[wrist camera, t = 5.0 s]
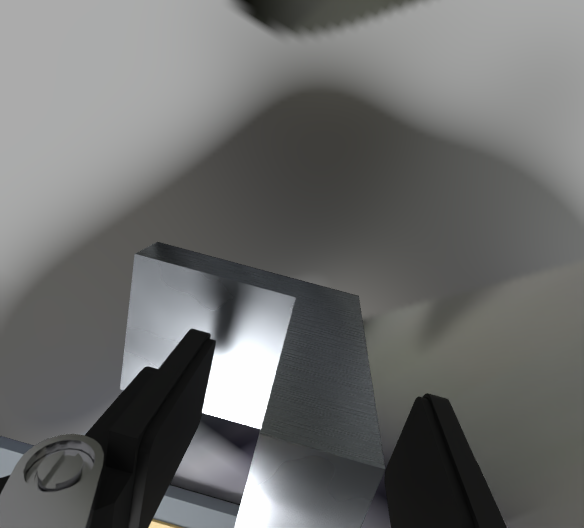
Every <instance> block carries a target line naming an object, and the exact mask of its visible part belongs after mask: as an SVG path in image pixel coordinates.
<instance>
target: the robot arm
mask: <svg viewBox="0 0 584 528" xmlns="http://www.w3.org/2000/svg"><path fill="white" fill-rule="evenodd" d="M210 338H211V334H210V333H207V332H203V331H200V330H196V329H192V328H191V329H190V330H189V331H188V332H187V334H186V335H185V336H184V337H183V339H182V340H181V341H180V342H179V344H178V345H177V346H176V347H175V349H174V350H173V351H172V352H171V354H170V355H169V356H168V357H167V359H166V360H165V361H164V362H163V364H162V365H161V366H160V367H159V369H156V368H153V367H149V366H146V367H144V368H143V369H142V370H141V371H140V372H139V373H138V375H137V376H136V377H135V378H134V379H133V380H132V381H131V383H130V384H129V385H128V386H127V387H126V388H125V390H124V391H123V392H122V393H121V394H120V395H119V396H118V398H117V399H116V400H115V401H114V402H113V403H112V404H111V406H110V407H109V408H108V409H107V410H106V411H105V413H104V414H103V415H102V416H101V417H100V418H99V419H98V421H97V422H96V423H95V424H94V425H93V426H92V427H91V429H90V430H89V431H88V432H87V433H86V434H85V435H79V434H66V435H58V436H55V437H52V438H48V439H46V440H44V441H42V442H40V443H38V444H36V445H34V446H33V447H32V448H31V449H29V450H28V451H27V452H26V453H24V454H23V456H22V457H21V458H20V460H19V461H18V462H17V464H16V465H15V467H14V469H13V471H12V473H11V475H8V476H5V477H2V478H0V528H149V526H150V524H151V522H152V519H153V517H154V515H155V513H156V511H157V509H158V507H159V505H160V503H161V501H162V499H163V497H164V495H165V493H166V491H167V489H168V487H169V485H170V483H171V481H172V479H173V477H174V475H175V473H176V471H177V469H178V467H179V465H180V463H181V461H182V458H183V456H184V454H185V452H186V450H187V448H188V446H189V444H190V442H191V440H192V438H193V436H194V434H195V432H196V430H197V428H198V425H199V423H200V419H201V416H202V411H203V406H204V401H205V396H206V391H207V386H208V381H209V376H210V371H211V366H212V361H213V356H214V351H215V346H216V340H213V339H210ZM385 488H386V495H387V502H388V509H389V516H390V523H391V528H507V527H506V525H505V523H504V521H503V518H502V516H501V514H500V512H499V510H498V507H497V505H496V503H495V501H494V498H493V496H492V494H491V492H490V489H489V487H488V485H487V483H486V480H485V478H484V476H483V474H482V472H481V469H480V467H479V465H478V463H477V462H476V460H475V458H474V456H473V453H472V451H471V449H470V447H469V444H468V442H467V440H466V438H465V435H464V433H463V431H462V429H461V426H460V424H459V422H458V420H457V417H456V415H455V413H454V411H453V408H452V406H451V404H450V402H449V400H448V399H446V398H442V397H439V396H435V395H431V394H428V393H427V394H425V395H424V396H423V398H422V397H417V398H416V400H415V402H414V404H413V407H412V409H411V411H410V414H409V416H408V418H407V421H406V423H405V426H404V428H403V430H402V433H401V435H400V437H399V440H398V442H397V444H396V447H395V449H394V451H393V454H392V456H391V458H390V461H389V463H388V465H387V468H386V472H385Z"/></svg>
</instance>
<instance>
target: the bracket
mask: <svg viewBox="0 0 584 528" xmlns="http://www.w3.org/2000/svg"><path fill="white" fill-rule="evenodd" d="M191 328H192V329H196V330H200V331H203V332H207V333H210V334H211V338H210V339H213V340H216V346H215V351H214V356H213V361H212V366H211V371H210V376H209V381H208V386H207V391H206V396H205V401H204V406H203V411H202V413H206V414H209V415H213V416H216V417H220V418H223V419H227V420H230V421H234V422H237V423H241V424H244V425H248V426H252V427H255V428H259V429H260V433H259V437H258V441H257V444H256V448H255V452H254V456H253V459H252V463H251V467H250V471H249V474H248V478H247V482H246V486H245V489H244V493H243V497H242V500H241V504H240V508H239V512H238V515H237V519H236V523H235V527H234V528H361V525H362V523H363V521H364V518H365V516H366V513H367V511H368V509H369V506H370V504H371V502H372V499H373V497H374V495H375V492H376V490H377V487H378V485H379V483H380V480H381V478H382V476H383V473H384V471H385V465H384V458H383V452H382V445H381V439H380V432H379V425H378V419H377V412H376V406H375V399H374V393H373V386H372V380H371V373H370V367H369V360H368V354H367V347H366V341H365V334H364V328H363V321H362V315H361V308H360V303H359V296H357V295H353V294H350V293H346V292H342V291H339V290H335V289H331V288H327V287H323V286H320V285H316V284H313V283H309V282H305V281H301V280H298V279H294V278H290V277H287V276H283V275H279V274H275V273H272V272H268V271H264V270H260V269H256V268H253V267H249V266H246V265H242V264H238V263H234V262H231V261H227V260H223V259H220V258H216V257H212V256H208V255H204V254H201V253H197V252H194V251H190V250H186V249H182V248H179V247H175V246H171V245H168V244H164V243H160V242H156V243H155V244H152V245H151V246H149V247H147V248H145V249H143V250H141V251H140V252H138V253H136V254H135V257H134V267H133V275H132V285H131V294H130V303H129V312H128V321H127V330H126V340H125V348H124V358H123V367H122V376H121V385H120V389H121V390H125V388H126V387H127V386H128V385H129V384H130V383H131V381H132V380H133V379H134V378H135V377H136V376H137V375H138V373H139V372H140V371H141V370H142V369H143V368H144V367H146V366H149V367H153V368H156V369H159V367H160V366H161V365H162V364H163V362H164V361H165V360H166V359H167V357H168V356H169V355H170V354H171V352H172V351H173V350H174V349H175V347H176V346H177V345H178V344H179V342H180V341H181V340H182V339H183V337H184V336H185V335H186V334H187V332H188V331H189V330H190V329H191Z"/></svg>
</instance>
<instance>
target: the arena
mask: <svg viewBox="0 0 584 528" xmlns="http://www.w3.org/2000/svg"><path fill="white" fill-rule="evenodd" d="M33 446H34V445H30V444H27V443H23V442H19V441H16V440H13V439H10V438H6V437H2V436H0V478H2V477H5V476H8V475H11V473H12V471H13V469H14V467H15V465H16V464H17V462H18V461H19V460H20V458H21V457H22V456H23V454H24V453H26V452H27V451H28V450H29V449H31V448H32V447H33ZM239 508H240V505H236V504H233V503H230V502H226V501H223V500H219V499H216V498H212V497H209V496H205V495H202V494H199V493H195V492H192V491H188V490H185V489H181V488H178V487H175V486H171V485H169V487H168V489H167V491H166V493H165V495H164V497H163V499H162V501H161V503H160V505H159V507H158V509H157V511H156V513H155V515H154V517H153V519H152V522H151V524H150V526H149V528H234V527H235V523H236V519H237V515H238V512H239Z"/></svg>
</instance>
